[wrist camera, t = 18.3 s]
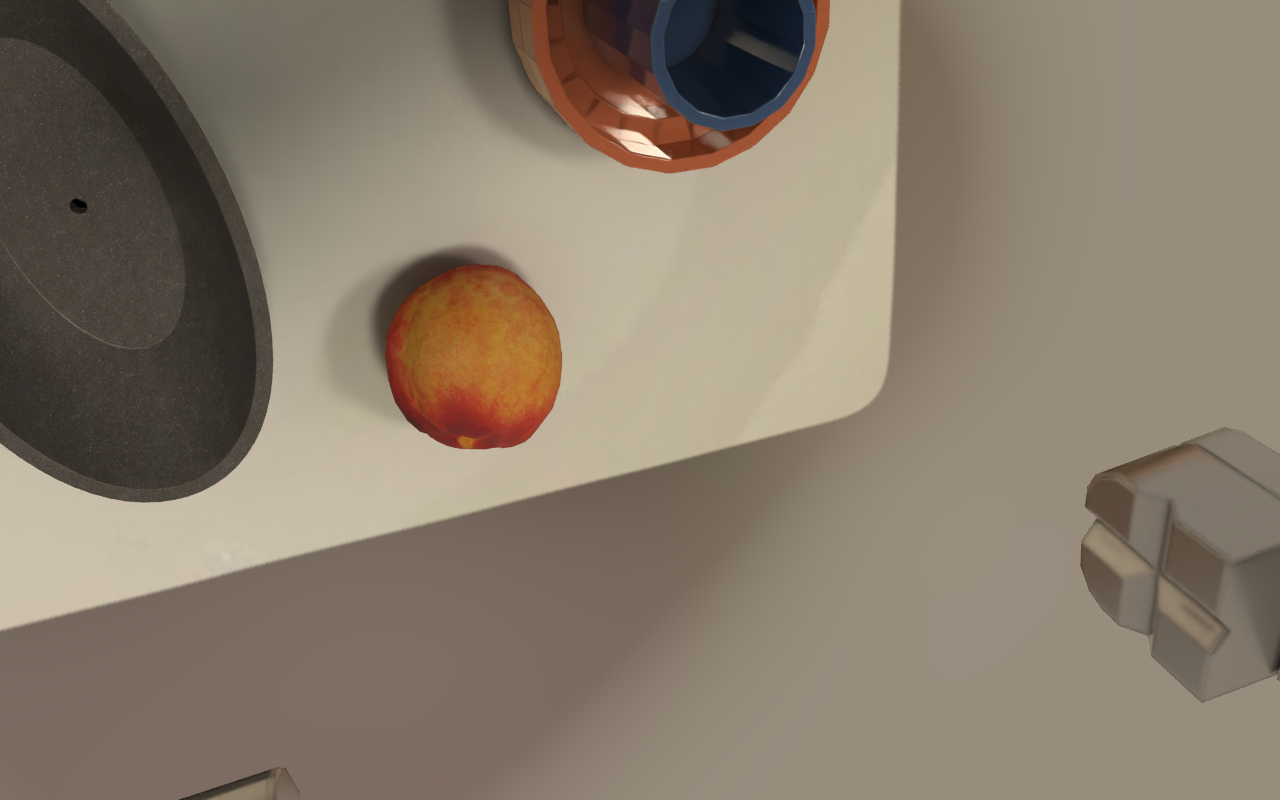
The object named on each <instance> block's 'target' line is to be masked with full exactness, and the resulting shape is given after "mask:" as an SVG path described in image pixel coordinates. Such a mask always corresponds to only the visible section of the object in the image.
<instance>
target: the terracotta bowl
mask: <svg viewBox="0 0 1280 800" xmlns="http://www.w3.org/2000/svg"><path fill="white" fill-rule="evenodd" d="M812 1H813V3H814V6H815V10H816V45H815V50H814V52H813V55H812V58H811V61H810V64H809V67H808V70H807V72H806V75H805V78H804V80H803V82H802V83H801V84H800V85H799V87H798V88H797V89H796V90H795V92H794V93H793V94H792V96H791V97H790V98H789V99H788V101H787V102H786V103H785V105H784V106H783V107H781V109H779V110H778V111H776V112H774V113H773V114H771V115H770V116H768V117H767V118H765V119H763V120H762V121H760V122H759V123H757V124H755V125H753V126H749V127H744V128H738V129H732V130H727V131H719V130H715V129H711V128H707V127H703V126H699V125H695V124H693V123H691V122H689V121H688V120H686V119H685V118H684V117H682V116H681V115H679V114H678V113H677V112H675V111H674V110H672V109H671V108H670V107H668V106H667V105H665V104H664V103H662V102H661V101H660V100H658V99H657V98H655V97H654V96H653V95H651V94H650V93H648V92H647V91H646V90H644V89H643V88H641V87H640V86H639V85H637V84H636V83H634V82H633V81H632V80H630V79H629V78H627V77H626V76H625V75H623V74H622V73H621V72H620V71H618V70H617V69H616V68H615V67H613V66H612V65H611V64H609V63H608V62H607V61H606V60H605V59H604V58H603V57H602V56H601V54H600V53H599V52H598V51H597V49H596V48H595V46H594V44H593V43H592V41H591V38H590V36H589V34H588V31H587V27H586V24H585V19H584V13H583V0H508V6H509V14H510V23H511V31H512V39H513V43H514V46H515V48H516V50H517V53H518V55H519V57H520V59H521V62H522V64H523V66H524V69H525V71H526V73H527V75H528V78H529V80H530V82H531V84H532V85H533V87H534V88H535V89H536V90H537V91H538V93H539V94H540V95H541V96H542V97H543V98H544V99H545V100H546V102H547V103H548V104H549V105H550V106H551V107H552V108H553V109H554V111H555V112H556V113H557V114H558V115H559V116H560V117H561V118H562V119H563V120H564V121H565V122H566V123H567V124H568V125H569V126H570V127H571V128H572V129H573V130H574V131H575V132H576V133H577V134H578V135H579V136H580V137H581V138H582V139H583V140H584V141H585V142H586V143H587V144H588V145H589V146H591V147H593V148H595V149H596V150H598V151H600V152H602V153H604V154H605V155H607V156H609V157H611V158H613V159H614V160H616V161H618V162H620V163H621V164H623V165H625V166H628V167H633V168H639V169H645V170H651V171H657V172H662V173H677V172H684V171H690V170H696V169H702V168H709V167H713V166H716V165H718V164H720V163H722V162H724V161H726V160H728V159H730V158H732V157H734V156H736V155H738V154H740V153H742V152H744V151H746V150H748V149H750V148H752V147H753V146H754V145H756V144H757V143H758V142H759V141H760V140H761V139H762V138H763V137H764V136H766V135H767V134H768V133H769V132H770V131H771V130H772V129H773V128H774V127H775V126H776V125H777V124H778V123H780V122H781V121H782V120H783V119H784V118H785V117H786V116H787V115H788V114H789V113H790V111H791V110H792V108H793V106H794V105H795V103H796V102H797V100H798V98H799V97H800V95H801V94H802V92H803V90H804V89H805V87H806V86H807V84H808V82H809V81H810V79H811V77H812V76H813V74H814V72H815V69H816V66H817V63H818V60H819V56H820V53H821V50H822V47H823V43H824V40H825V37H826V34H827V30H828V27H829V25H828V24H829V11H830V0H812Z"/></svg>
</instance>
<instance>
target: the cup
mask: <svg viewBox="0 0 1280 800" xmlns="http://www.w3.org/2000/svg"><path fill="white" fill-rule="evenodd" d="M583 13H584V19H585V24H586V27H587V31H588V34H589V36H590V38H591V41H592V43H593V44H594V46H595V48H596V49H597V51H598V52H599V53H600V54H601V56H602V57H603V58H604V59H605V60H606V61H607V62H608V63H609V64H611V65H612V66H613V67H615V68H616V69H617V70H618V71H620V72H621V73H622V74H623V75H625V76H626V77H627V78H629V79H630V80H632V81H633V82H634V83H636V84H637V85H639V86H640V87H641V88H643V89H644V90H646V91H647V92H648V93H650V94H651V95H653V96H654V97H655V98H657V99H658V100H660V101H661V102H662V103H664V104H665V105H667V106H668V107H670V108H671V109H672V110H674V111H675V112H677V113H678V114H679V115H681V116H682V117H684V118H685V119H686V120H688V121H689V122H691V123H693V124H695V125H699V126H703V127H707V128H711V129H715V130H719V131H727V130H732V129H738V128H744V127H749V126H753V125H755V124H757V123H759V122H760V121H762V120H763V119H765V118H767V117H768V116H770V115H771V114H773V113H774V112H776V111H778V110H779V109H781V107H783V106H784V105H785V103H786V102H787V101H788V99H789V98H790V97H791V96H792V94H793V93H794V92H795V90H796V89H797V88H798V87H799V85H800V84H801V83H802V82H803V80H804V78H805V75H806V72H807V70H808V67H809V64H810V61H811V58H812V55H813V52H814V50H815V45H816V10H815V6H814V3H813V1H812V0H583Z"/></svg>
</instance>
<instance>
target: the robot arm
mask: <svg viewBox="0 0 1280 800" xmlns="http://www.w3.org/2000/svg"><path fill="white" fill-rule="evenodd" d="M1085 507H1086V508H1087V509H1088V510H1089V512H1090V513H1091V514H1092V515H1093V516H1094V517H1095V518H1096V520H1095V522H1094V523H1093V524H1092V526H1091V527H1090V529H1089V530H1088V532H1087V533H1086V535H1085V536H1084V538H1083V540H1082V544H1081V569H1082V572H1083V574H1084V577H1085V580H1086V583H1087V586H1088V589H1089V591H1090V592H1091V594H1092V596H1093V597H1094V599H1095V600H1096V601H1097V603H1098V604H1099V606H1100V607H1101V609H1102V610H1103V611H1104V612H1105V613H1106V614H1107V615H1108V616H1110V617H1111V618H1112V619H1113V620H1114V621H1115V622H1116V623H1117V624H1118V625H1119V626H1121V627H1124V628H1127V629H1130V630H1133V631H1136V632H1139V633H1142V634H1145V635H1148V638H1149V644H1150V651H1151V656H1152V657H1153V658H1154V659H1155V660H1156V661H1157V662H1158V663H1159V664H1160V665H1161V666H1163V668H1165V669H1166V670H1167V671H1168V672H1169V673H1170V674H1171V675H1172V676H1173V677H1174V678H1175V679H1176V680H1177V681H1179V682H1180V683H1181V684H1182V685H1183V686H1184V687H1185V688H1186V689H1187V690H1188V691H1189V692H1190V693H1192V694H1193V695H1194V696H1195V697H1196V698H1197V699H1198V700H1199V701H1200V702H1201V703H1203V702H1206V701H1209V700H1211V699H1214V698H1216V697H1219V696H1222V695H1224V694H1227V693H1230V692H1232V691H1235V690H1238V689H1240V688H1243V687H1246V686H1248V685H1251V684H1253V683H1256V682H1258V681H1261V680H1264V679H1267V678H1269V677H1272V676H1275V675H1277V674H1278V677H1277V680H1279V681H1280V454H1278V453H1277V452H1275V451H1274V450H1272V449H1270V448H1269V447H1267V446H1265V445H1264V444H1262V443H1261V442H1259V441H1257V440H1256V439H1254V438H1252V437H1251V436H1249V435H1247V434H1246V433H1244V432H1242V431H1239V430H1235V429H1231V428H1226V427H1224V428H1221V429H1218V430H1215V431H1213V432H1210V433H1207V434H1205V435H1202V436H1199V437H1196V438H1194V439H1191V440H1188V441H1185V442H1183V443H1181V444H1180V445H1176V446H1172V447H1169V448H1166V449H1163V450H1161V451H1158V452H1155V453H1153V454H1150V455H1147V456H1144V457H1142V458H1139V459H1137V460H1134V461H1131V462H1129V463H1126V464H1123V465H1120V466H1117V467H1115V468H1112V469H1109V470H1107V471H1104V472H1101V473H1099V474H1096V475H1095V476H1094V478H1093V479H1092V481H1091V483H1090V484H1089V486H1088V487H1087V495H1086V504H1085ZM180 800H300V792H299V790H298V788H297V786H296V785H295V783H294V781H293V779H292V778H291V776H290V774H289V773H288V771H287V769H286V768H282V767H277V768H274V769H271V770H268V771H265V772H262V773H259V774H255V775H252V776H249V777H247V778H243V779H241V780H237V781H234V782H231V783H228V784H225V785H222V786H219V787H216V788H213V789H210V790H207V791H204V792H201V793H198V794H195V795H192V796H189V797H186V798H183V799H180Z"/></svg>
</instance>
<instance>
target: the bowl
mask: <svg viewBox="0 0 1280 800" xmlns="http://www.w3.org/2000/svg"><path fill="white" fill-rule="evenodd" d="M73 199H82V200H83V201H85V202H86V204H87V207H86V208H79V207H77V206H75V205H74V203H73ZM272 373H273V347H272V333H271V324H270V316H269V311H268V305H267V299H266V294H265V290H264V285H263V281H262V277H261V273H260V269H259V266H258V262H257V259H256V255H255V252H254V248H253V245H252V242H251V239H250V236H249V234H248V231H247V228H246V225H245V222H244V220H243V217H242V214H241V212H240V209H239V207H238V204H237V202H236V199H235V197H234V195H233V192H232V190H231V188H230V186H229V183H228V181H227V179H226V177H225V174H224V172H223V170H222V168H221V166H220V164H219V162H218V160H217V158H216V156H215V154H214V152H213V150H212V148H211V146H210V144H209V143H208V141H207V139H206V137H205V135H204V133H203V132H202V130H201V128H200V126H199V124H198V123H197V121H196V119H195V118H194V116H193V114H192V113H191V111H190V109H189V108H188V106H187V104H186V103H185V101H184V100H183V98H182V96H181V95H180V93H179V92H178V90H177V89H176V87H175V86H174V84H173V83H172V81H171V80H170V79H169V77H168V76H167V74H166V73H165V71H164V70H163V68H162V67H161V66H160V64H159V63H158V62H157V60H156V59H155V58H154V56H153V55H152V54H151V52H150V51H149V50H148V48H147V47H146V46H145V45H144V43H143V42H142V41H141V40H140V39H139V37H138V36H137V35H136V34H135V33H134V31H133V30H132V29H131V28H130V27H129V25H128V24H127V23H126V22H125V21H124V20H123V19H122V18H121V17H120V16H119V15H118V13H117V12H116V11H115V10H114V9H113V8H112V7H111V6H110V5H109V4H108V3H107V2H106V1H105V0H0V443H1V444H2V445H4V446H5V447H6V448H8V449H9V450H10V451H12V452H13V453H14V454H16V455H17V456H19V457H20V458H22V459H23V460H25V461H26V462H28V463H29V464H31V465H33V466H34V467H36V468H37V469H39V470H41V471H43V472H44V473H46V474H48V475H50V476H52V477H53V478H55V479H57V480H59V481H62V482H64V483H66V484H68V485H71V486H73V487H75V488H78V489H81V490H83V491H86V492H89V493H92V494H95V495H99V496H103V497H107V498H110V499H116V500H122V501H129V502H163V501H170V500H176V499H180V498H184V497H187V496H191V495H193V494H196V493H198V492H201V491H203V490H205V489H207V488H209V487H211V486H213V485H214V484H216V483H217V482H219V481H220V480H222V479H223V478H224V477H226V476H227V475H228V474H229V473H230V472H232V471H233V470H234V469H235V468H236V467H237V466H238V465H239V464H240V462H241V461H242V460H243V459H244V457H245V456H246V455H247V454H248V452H249V450H250V449H251V447H252V446H253V444H254V443H255V440H256V438H257V436H258V434H259V432H260V430H261V428H262V425H263V422H264V419H265V416H266V413H267V408H268V404H269V399H270V393H271V385H272Z"/></svg>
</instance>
